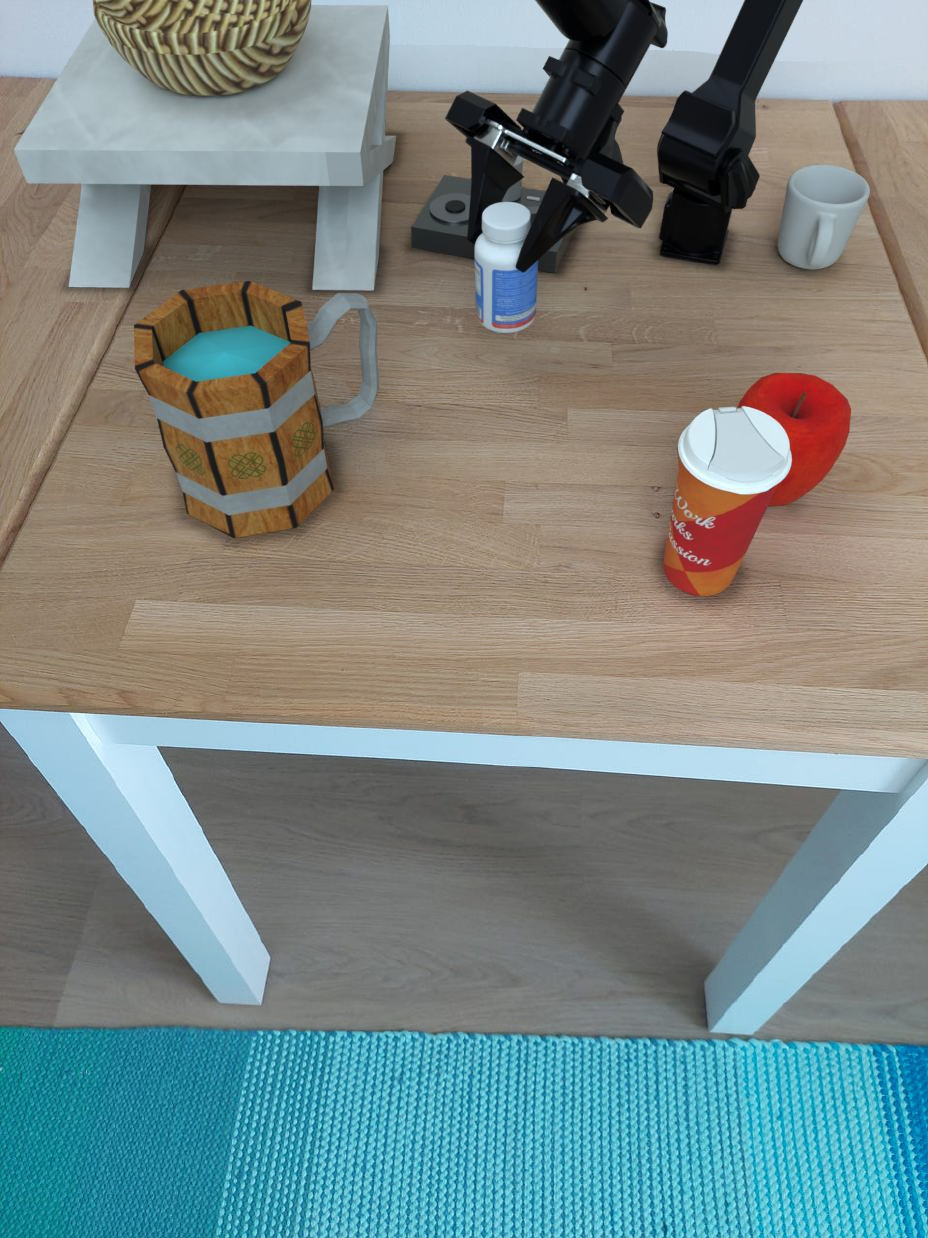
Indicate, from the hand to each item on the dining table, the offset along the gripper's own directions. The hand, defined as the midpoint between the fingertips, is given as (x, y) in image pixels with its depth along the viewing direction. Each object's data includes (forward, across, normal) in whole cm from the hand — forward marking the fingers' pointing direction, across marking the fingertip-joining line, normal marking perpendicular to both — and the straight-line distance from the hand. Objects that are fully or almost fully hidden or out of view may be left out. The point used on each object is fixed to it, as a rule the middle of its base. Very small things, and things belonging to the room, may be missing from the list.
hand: (495, 256), depth 78 cm
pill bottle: (+4, 0, -6) cm, 7 cm away
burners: (-5, +17, -20) cm, 26 cm away
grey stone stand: (+8, +41, -10) cm, 43 cm away
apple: (+5, -27, -13) cm, 30 cm away
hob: (-3, +17, -22) cm, 28 cm away
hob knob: (-7, +18, -22) cm, 30 cm away
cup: (-16, -11, -35) cm, 40 cm away
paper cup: (+13, -28, -5) cm, 31 cm away
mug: (+24, +4, +6) cm, 25 cm away
